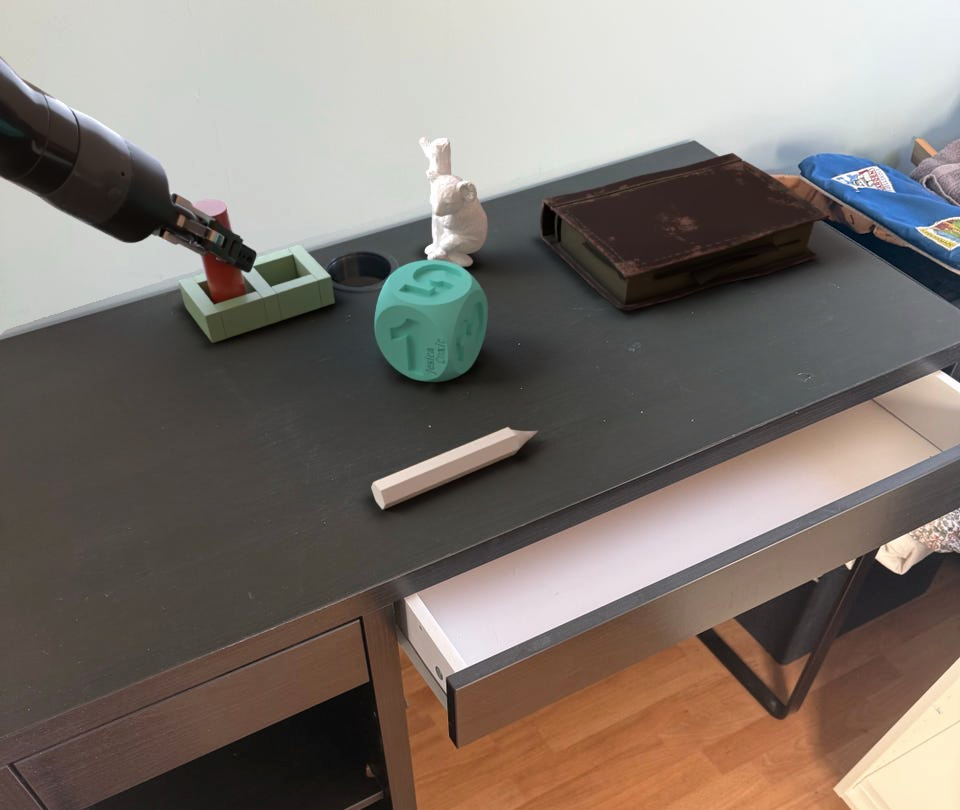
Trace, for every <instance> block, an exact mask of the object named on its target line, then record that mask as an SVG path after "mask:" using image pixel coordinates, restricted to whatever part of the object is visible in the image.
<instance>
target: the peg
mask: <svg viewBox="0 0 960 810" xmlns="http://www.w3.org/2000/svg"><path fill="white" fill-rule="evenodd" d="M192 206H193V207H195V208H196V209H198V210H200V211H202V212H203V213H205V214H207V215H209V216H210V217H212V218H214V219H216V220H218V221H220V224H222V225H223V226H225V227H226V228H228V229H229V230H230V231H232V232H233V233H234V231H233V227H232V222H231V218H230V212H229V209H228V204H227V203H226V202H225V201H223V200H221V199H216V198H207V199H201V200H198V201H196V202H194V203H192ZM196 217H197V216H196ZM197 218H198V217H197ZM198 219H199V218H198ZM199 220H200V219H199ZM200 223H201V220H200ZM199 256H200V259H201V263H202V267H203V271H204V273H205V275H206V279H207V283H208V286H209V290H210V294H211V298H212V302H213V304H214V305H215V304H218V303H221V302H224V301H227V300H230V299H234V298H237V297H240V296H243V295H246V294H247V293H246V288H245V284H244V279H243V275H242V270H240V269H238V268H236V267H235V266H233V265H231V264H230V265H229V264H227V263H225V262H224V261H219V260H217V259H216V257H214V256H212V255H210V254H209V253H207V254H205V255H200V254H199Z"/></svg>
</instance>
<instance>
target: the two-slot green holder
mask: <svg viewBox="0 0 960 810" xmlns="http://www.w3.org/2000/svg"><path fill="white" fill-rule="evenodd" d="M242 275H243V279H244V284H245V288H246V293H247V294H246V295H243V296H240V297H237V298H234V299H230V300H227V301H224V302H221V303H218V304H215V305H214V304H213V302H212V298H211V294H210V290H209V286H208V283H207V279H206V275H205V272H203V273H199V274H195V275H193V276H189V277H185V278H183V279H180V280H177V284H178V286H179V290H180V293H181V296H182V301H183V303H184V308H185V309H186V310H187V312H188V313H189V315H191V317H192V318H193V319H194V321H195V322H196V324H197V325H198V326H199V327H200V329H201V330H202V332H203V333H204V335H205V336H207V338H208V340H209V341H210V342H211V343H212V344H213V343H214V344H215V343H217V342H220V341H223V340H226V339H229V338H232V337H235V336H238V335H242V334H245V333H249V332H251V331H253V330H257V329H260V328H264V327H267V326H268V325H272V324H275V323H278V322H281V321H283V320H287V319H290V318H294V317H296V316H300V315H302V314H305V313H309V312H311V311H316V310H318V309H320V308H323V307H327V306H329V305H333V304H335V303H336V301H335V294H334V288H333V281H332V276H331V275H330V274H329V273H328V272H327V271H326V270H325V269H324V268H323V267H322V265H321V264H320V263H319V262H317V260H316V259H315V258H314V257H313V255H311V254H310V253H309V252H308V251H307V250H306V249H305V248H304V247H303V246H302V245H301V244H297V245H294V246H290V247H286V248H283V249H280V250H276V251H273V252H269V253H266V254H263V255H260V256H256V259H255V262H254V265H253V267H252V270H251V271H250V272H249V273H246V272H244V271H242Z"/></svg>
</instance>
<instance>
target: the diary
mask: <svg viewBox="0 0 960 810" xmlns="http://www.w3.org/2000/svg"><path fill="white" fill-rule="evenodd" d="M828 219H830V215H829V214H827V213H826V212H825V211H823V210H822V209H820V208H819V207H817V205H814V204H813V203H812V202H810V201H809V200H808V199H806V198H805V197H804V196H802V195H800V194H799V193H798V192H796V191H795V190H793V189H792V188H790V187H789V186H788V185H786V184H785V183H783V182H782V181H780V180H778V179H777V178H776V177H774V176H772V175H770V174H768V173H767V172H765V171H763V170H762V169H760V168H759V167H756V166H755V165H753V164H751V163H749V162H747V161H746V160H743V159H742V158H741V157H740V156H738V155H737V154H736V153H734V152H730V153H725V154H723V155H720V156H715V157H712V158H709V159H706V160H702V161H699V162H695V163H692V164H688V165H683V166H679V167H674V168H670V169H665V170H659V171H655V172H650V173H645V174H641V175H637V176H633V177H630V178H626V179H622V180H619V181H616V182H612V183H609V184H604V185H601V186H598V187H594V188H590V189H585V190H581V191H574V192H570V193H565V194H560V195H555V196H550V197H545V198H543V199H542V201H541V208H540V219H539V222H540V224H539V225H540V226H539V227H540V238H541V240H542V241H544V242H545V243H546V244H547V245H548V246H550V247H551V249H552V250H553V251H554V252H555V253H556V254H557V255H558V256H559V257H561V258H562V259H563V260H564V261H565V263H567V264H568V266H570V268H572V269H573V271H575V272H576V273H577V274H578V275H579V276H580V277H581V278H583V279H584V281H586V282H587V283H588V284H589V285H590V286H591V287H592V288H593V289H594V290H595V291H597V293H598V294H600V296H602V297H603V298H604V299H606V301H608V302H609V303H610V304H612V305H613V306H614V307H615V308H617V309H619V310H625V311H631V310H636V309H639V308H645V307H649V306H652V305H657V304H660V303H664V302H668V301H672V300H675V299H679V298H682V297H685V296H687V295H691V294H693V293H696V292H699V291H702V290H705V289H708V288H711V287H713V286H716V285H720V284H724V283H730V282H734V281H735V282H736V281H740V280H745V279H746V280H747V279H750V278H751V279H752V278H756V277H760V276H765V275H769V274H772V273H775V272H778V271H781V270H784V269H786V268H789V267H792V266H795V265H798V264H800V263H803V262H806V261H810V260H813V259H816V258H817V257H818V254H817V253H815V252H814V251H813V250H811V249H810V248H809V247H808V244H809V241H810V238H811V235H812V231H813V227H814V224H815V223H818V222H820V221H824V220H828Z"/></svg>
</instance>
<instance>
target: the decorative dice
mask: <svg viewBox="0 0 960 810" xmlns="http://www.w3.org/2000/svg"><path fill="white" fill-rule="evenodd" d="M376 301H377V302H376V306H375V311H374V322H373V327H374V336H375V340H376V341H375V342H376V344H377V346H378V347H379V350H380V352H381V354H382V355H383V357H384V358H385V360H386V361H387V362H388V363H389V365H391V366H392V367H393V368H394V369H395V370H396V371H398V372H399V373H401V375H404V376H406V377H408V378H410V379H412V380H415V381H419V382H424V383H425V382H426V383H440V382H446V381H450V380H453V379H456V378H458V377H460V376H461V375H463V374H465V373H466V372H467V371H469V370H470V369H471V368H472V366H473V365H474V363H475V362H476V360H477V358H478V356H479V354H480V351H481V350H482V349H481V348H482V346H483V343H484V340H485V336H486V332H487V326H488V319H489V304H488V299H487V296H486V294H485V292H484V290H483V287H481V285H480V283H479V282H478V280H476V278H475V277H474V276H473V275H472V274H471V273H470V272H469V271H468V270H466V269H465V267H461V266H459V265H456V264H454V263H451V262H447V261H441V260H428V259H423V260H422V259H421V260H417V261H412V262H409V263H406V264H404V265H402V266H400V267H398V268H396V269H395V270H394V271H393V272H392V273H391V274H390V275H389V276H388V277H387V278H386V280H385V282H384V284H383V285H382V288H381V290H380V293H379V295H378V298H377V300H376Z"/></svg>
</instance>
